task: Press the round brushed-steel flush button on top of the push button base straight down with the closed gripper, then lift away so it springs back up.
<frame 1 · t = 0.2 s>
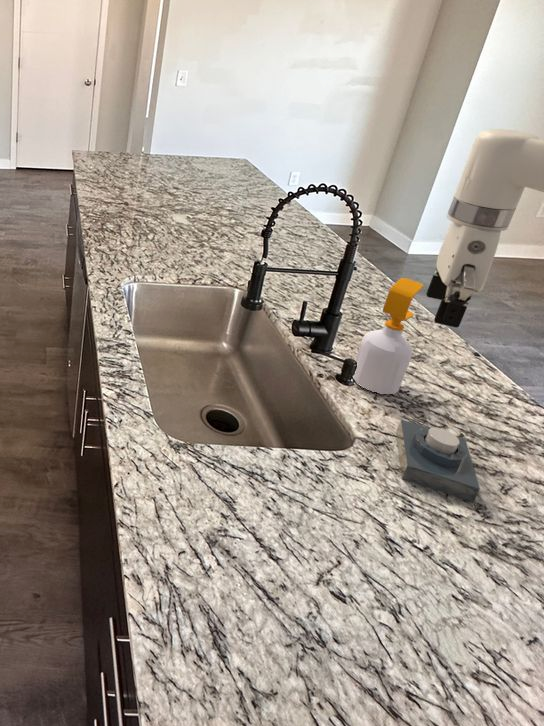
hand: (441, 310, 88), 29 cm above the countertop, tool pointing down, fingers open, 9 cm apart
soap bottle: (373, 383, 117), on the countertop
flush button: (442, 440, 93), point 6 cm above the countertop, slide at 0.1 cm
push button base: (431, 464, 95), on the countertop
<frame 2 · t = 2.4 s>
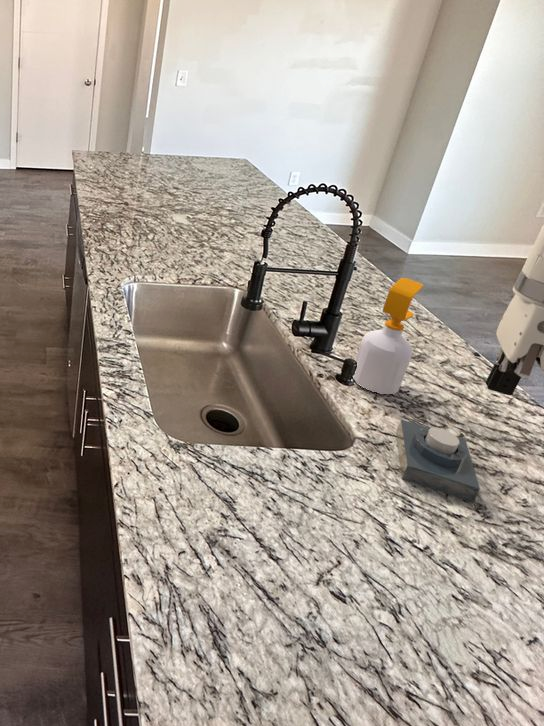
hand: (498, 389, 86), 18 cm above the countertop, tool pointing down, fingers closed
nothing on the countertop moved.
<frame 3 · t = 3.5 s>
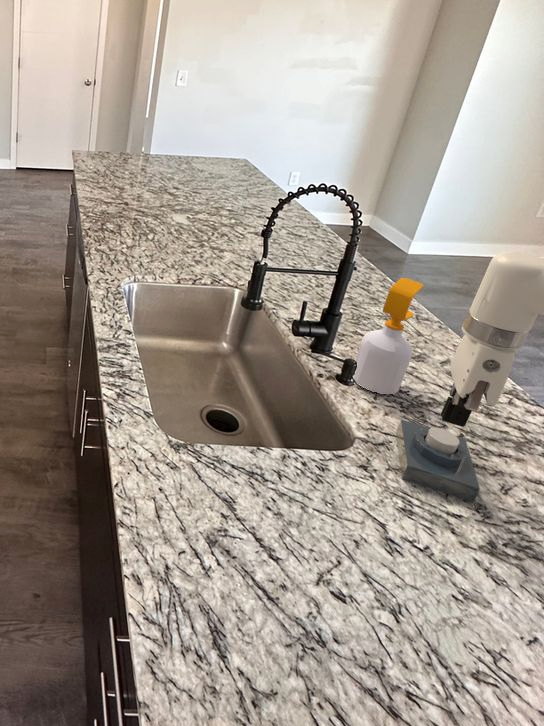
hand: (452, 420, 91), 10 cm above the countertop, tool pointing down, fingers closed
nothing on the countertop moved.
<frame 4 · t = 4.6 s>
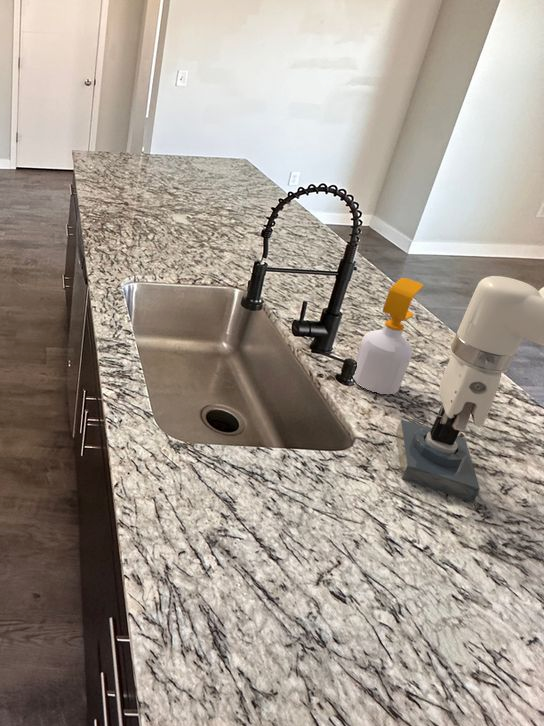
hand: (441, 439, 93), 6 cm above the countertop, tool pointing down, fingers closed
flush button: (440, 444, 93), point 5 cm above the countertop, slide at -0.8 cm, touching gripper
everything else where it was.
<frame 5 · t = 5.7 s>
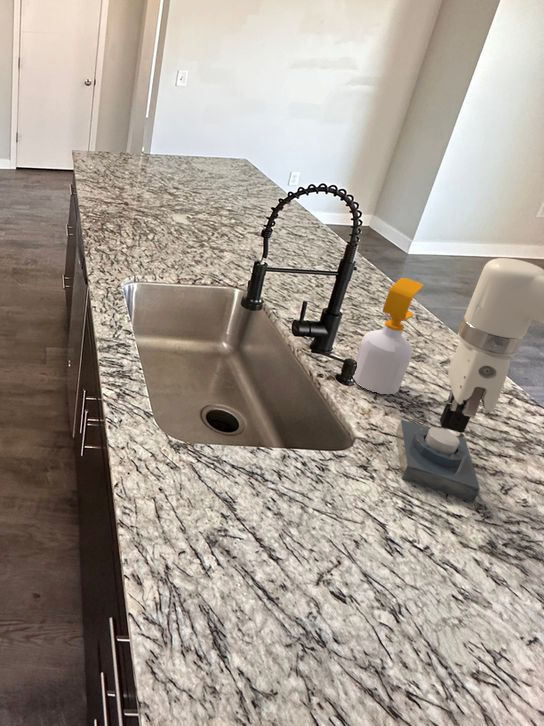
hand: (451, 427, 91), 9 cm above the countertop, tool pointing down, fingers closed
flush button: (442, 440, 93), point 6 cm above the countertop, slide at 0.1 cm
everything else where it was.
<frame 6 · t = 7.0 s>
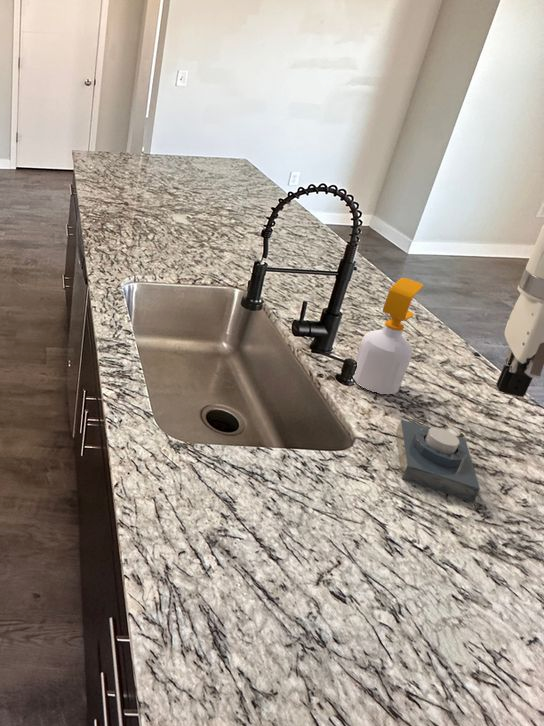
hand: (509, 391, 84), 19 cm above the countertop, tool pointing down, fingers closed
nothing on the countertop moved.
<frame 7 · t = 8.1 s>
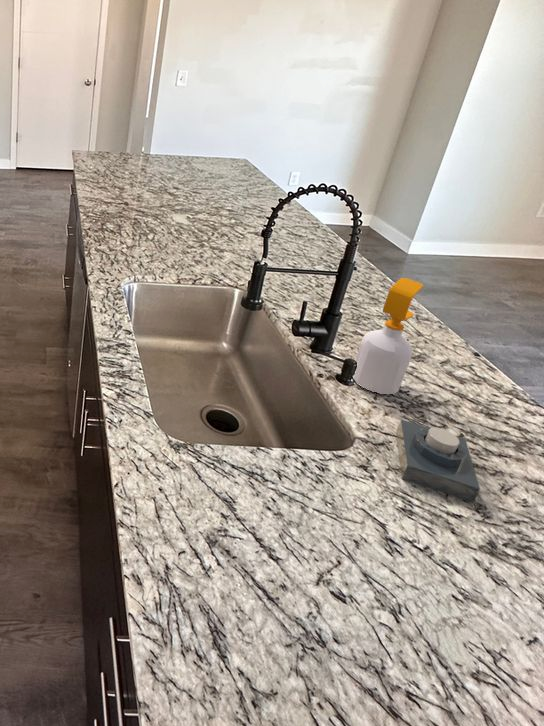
nothing on the countertop moved.
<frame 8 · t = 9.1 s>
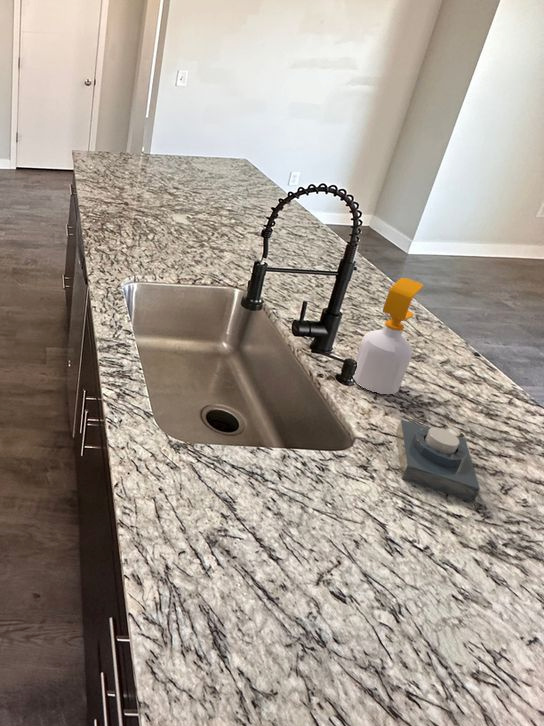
nothing on the countertop moved.
at the end: flush button pushed in 1.1 cm at the most during the clip, back to where it started at the end; flush button slide at 0.1 cm; soap bottle moved 0.2 cm from its start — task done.
